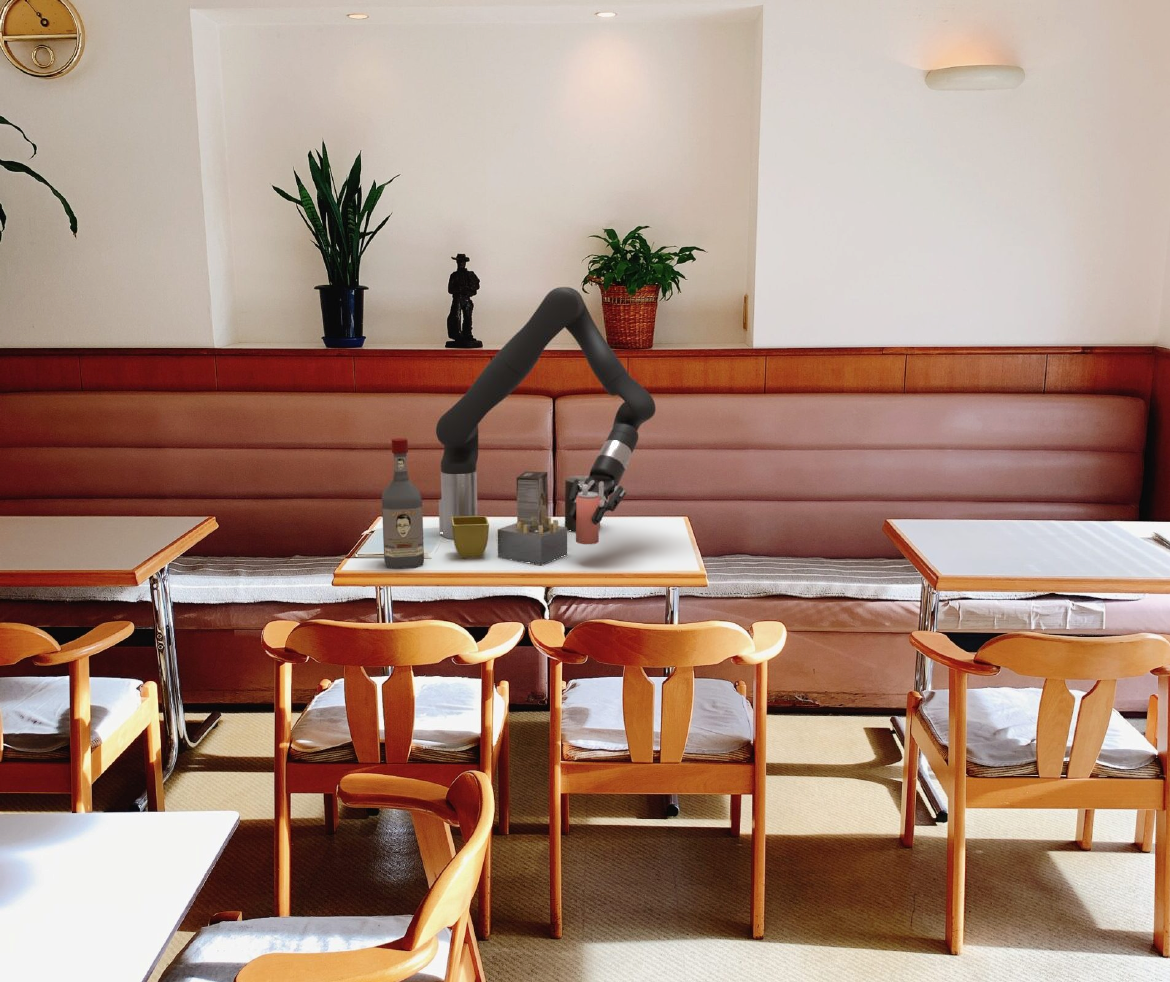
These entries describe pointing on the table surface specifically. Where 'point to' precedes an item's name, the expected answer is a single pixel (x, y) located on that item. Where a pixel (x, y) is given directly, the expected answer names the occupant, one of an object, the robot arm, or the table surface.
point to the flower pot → (470, 535)
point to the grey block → (532, 541)
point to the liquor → (402, 515)
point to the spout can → (586, 517)
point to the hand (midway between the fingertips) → (583, 520)
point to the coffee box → (532, 496)
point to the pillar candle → (568, 503)
